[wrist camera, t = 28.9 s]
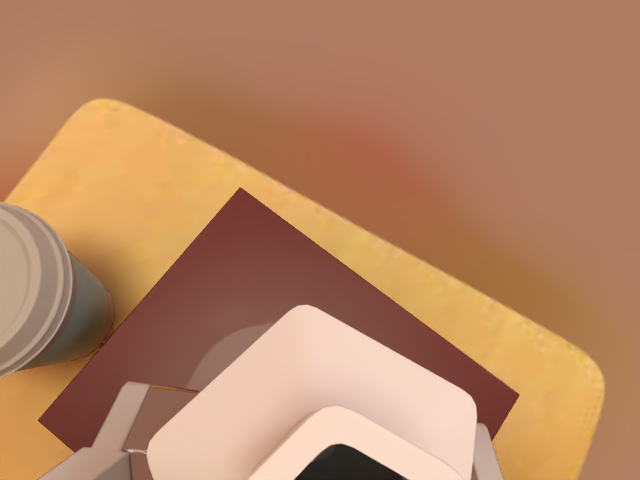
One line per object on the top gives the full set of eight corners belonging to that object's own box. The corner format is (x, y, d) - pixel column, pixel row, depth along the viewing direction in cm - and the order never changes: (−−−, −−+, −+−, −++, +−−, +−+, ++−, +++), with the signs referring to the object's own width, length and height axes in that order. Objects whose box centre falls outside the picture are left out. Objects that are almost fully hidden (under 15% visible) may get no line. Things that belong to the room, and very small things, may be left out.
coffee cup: (111, 233, 35) (22, 161, 23) (153, 349, 33) (80, 333, 21) (-16, 283, 33) (-178, 232, 22) (21, 407, 31) (-134, 423, 20)
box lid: (45, 419, 22) (37, 420, 22) (241, 192, 26) (240, 186, 25) (343, 675, 20) (345, 686, 20) (513, 394, 24) (520, 394, 23)
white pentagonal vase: (208, 445, 18) (-81, 711, 4) (270, 336, 19) (236, 213, 5) (320, 511, 18) (485, 1084, 3) (376, 397, 19) (678, 457, 5)
